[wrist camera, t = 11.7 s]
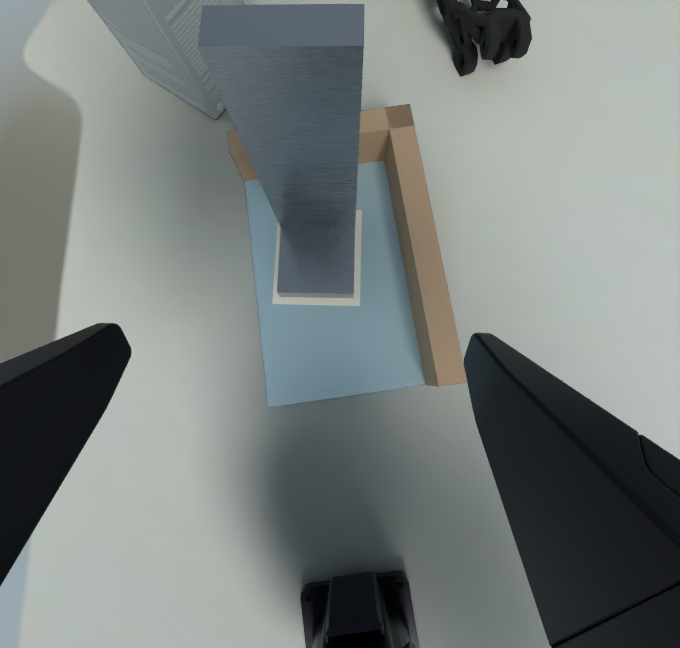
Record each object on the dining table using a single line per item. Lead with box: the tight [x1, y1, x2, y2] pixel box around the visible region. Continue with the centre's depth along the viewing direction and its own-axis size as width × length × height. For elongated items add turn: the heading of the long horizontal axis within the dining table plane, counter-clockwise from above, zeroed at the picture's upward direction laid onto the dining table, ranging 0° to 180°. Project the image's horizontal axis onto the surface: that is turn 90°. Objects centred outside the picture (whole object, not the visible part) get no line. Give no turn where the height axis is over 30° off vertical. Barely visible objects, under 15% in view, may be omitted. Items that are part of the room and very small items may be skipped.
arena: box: [228, 104, 467, 408], centre depth 21 cm, size 18×12×4 cm, turn 8°
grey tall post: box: [198, 4, 364, 298], centre depth 16 cm, size 6×5×13 cm
